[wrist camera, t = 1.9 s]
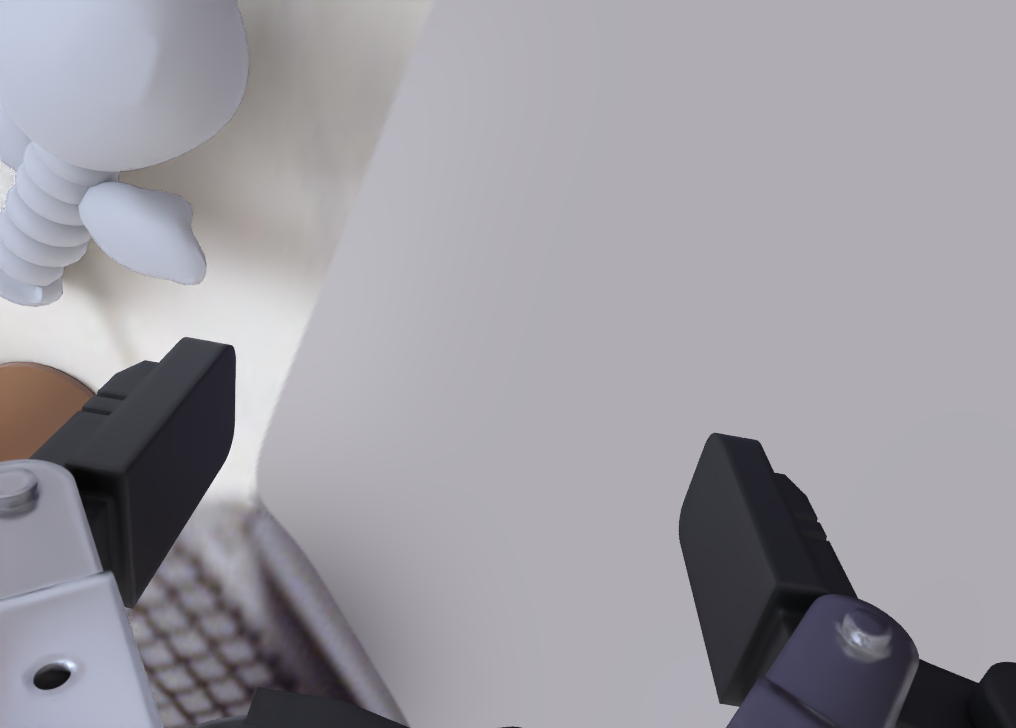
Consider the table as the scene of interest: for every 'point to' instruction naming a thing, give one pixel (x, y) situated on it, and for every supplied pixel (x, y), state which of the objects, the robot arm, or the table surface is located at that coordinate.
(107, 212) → the toy creature
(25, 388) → the cork coaster
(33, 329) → the table surface
